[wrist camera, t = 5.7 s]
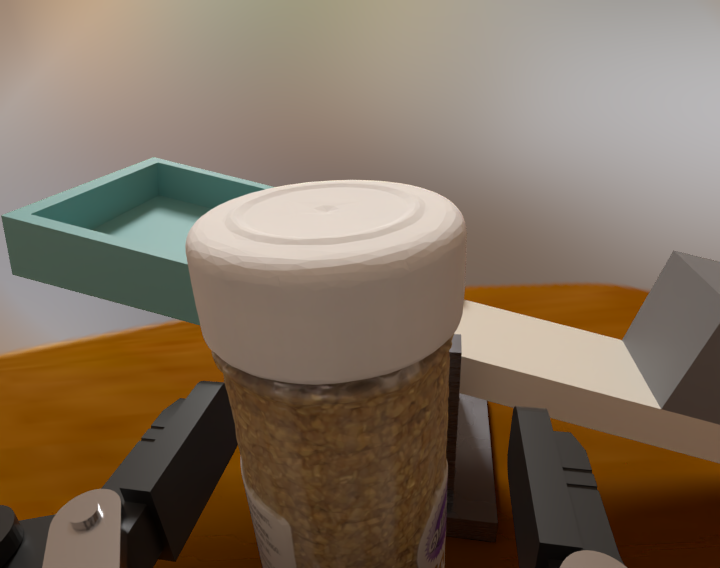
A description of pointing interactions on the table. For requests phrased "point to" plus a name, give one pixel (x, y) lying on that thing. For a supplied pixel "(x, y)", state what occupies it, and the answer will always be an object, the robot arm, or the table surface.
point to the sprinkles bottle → (336, 364)
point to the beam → (477, 328)
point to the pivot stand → (468, 461)
